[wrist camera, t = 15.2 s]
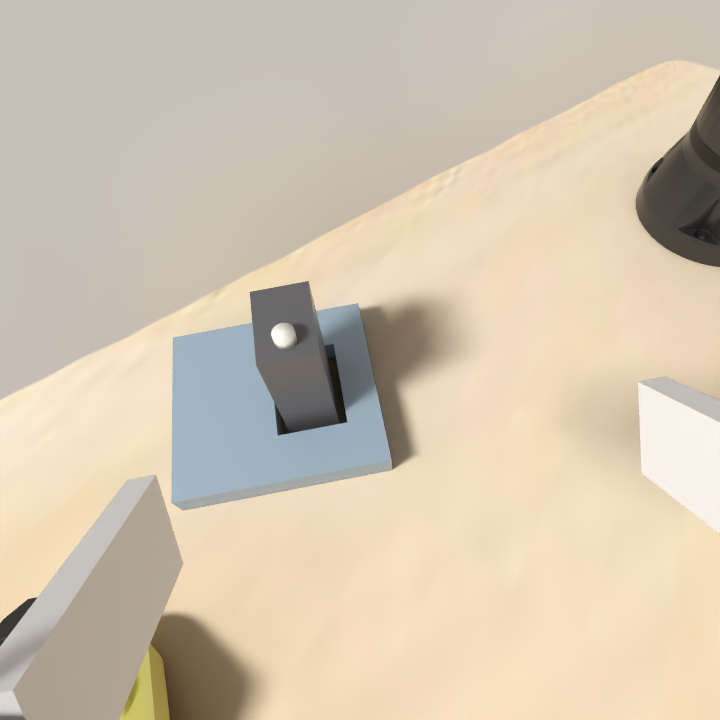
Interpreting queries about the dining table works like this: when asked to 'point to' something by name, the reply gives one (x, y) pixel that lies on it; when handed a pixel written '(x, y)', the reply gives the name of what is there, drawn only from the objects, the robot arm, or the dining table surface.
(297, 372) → the servo block
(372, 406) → the plate
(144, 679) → the plastic component
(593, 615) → the dining table surface
